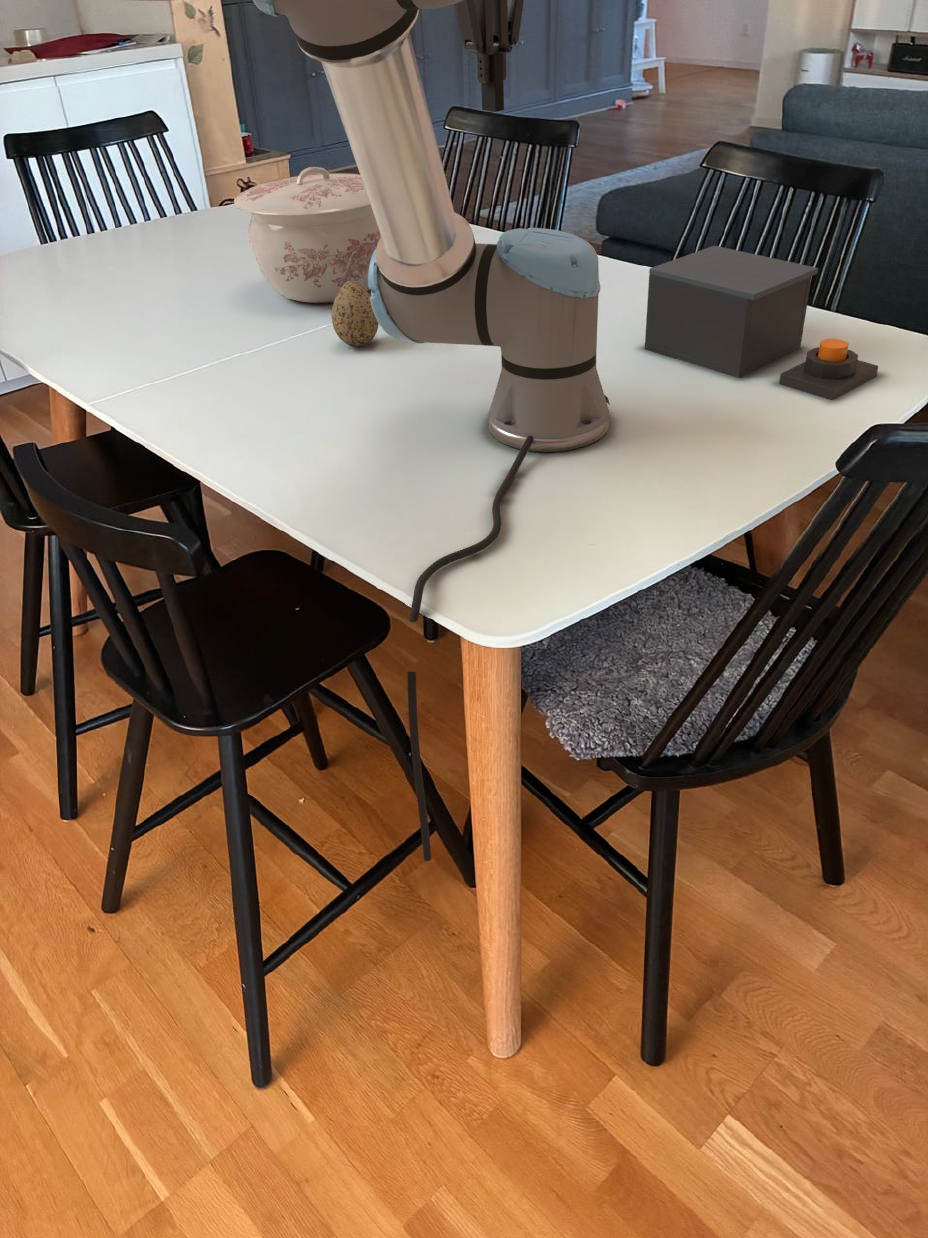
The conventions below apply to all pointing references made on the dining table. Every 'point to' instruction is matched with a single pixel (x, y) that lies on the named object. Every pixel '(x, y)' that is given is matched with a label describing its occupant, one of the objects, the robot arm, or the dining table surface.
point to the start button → (833, 350)
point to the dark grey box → (724, 325)
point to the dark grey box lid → (734, 272)
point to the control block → (828, 375)
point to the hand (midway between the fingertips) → (493, 109)
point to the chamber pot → (311, 233)
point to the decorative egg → (354, 315)
